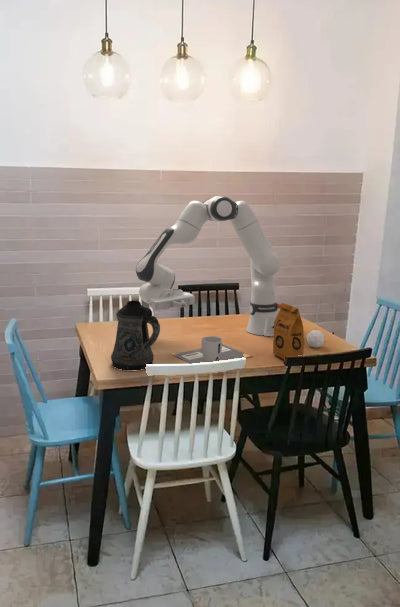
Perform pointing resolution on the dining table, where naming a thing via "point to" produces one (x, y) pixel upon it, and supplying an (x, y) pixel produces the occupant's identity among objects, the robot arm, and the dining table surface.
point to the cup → (211, 348)
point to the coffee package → (288, 332)
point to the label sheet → (197, 355)
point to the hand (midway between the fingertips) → (183, 305)
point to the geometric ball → (315, 338)
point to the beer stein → (134, 337)
